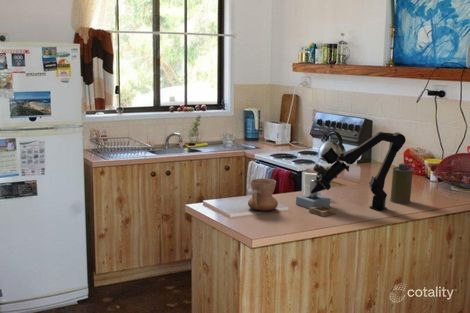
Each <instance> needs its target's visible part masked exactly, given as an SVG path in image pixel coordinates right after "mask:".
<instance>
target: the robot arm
mask: <svg viewBox="0 0 470 313" xmlns="http://www.w3.org/2000/svg"><path fill="white" fill-rule="evenodd" d="M406 141H407V140H406V136H405V135H404V134H402V133H401V132H394V133H392V132H383V131H378V132H377V133H376V134H374V135H373V136H371V137H370V138H368V139H367V140H366V141H364V142H363V143H361V144H360V145H358V146H357V147H354V148H351V149H348V150H346V151H345V152H344V153H337V152H336V151H335V150H334V148H333V147H332V146H330V147H329V148H327V149H326V150H324V151H323V152H322V153H321V155H320V157H321V158H322V159H323V160H324V161H325V162H326V164H328V165H331V166H328V167H324V166H323V165H320V164H318V163H315V165H314V167H313V171H314V172H315V173H316V174H317V175H318V176H317V175H316V180H318V182H317V185H316V186H315V187H314V188H313V190H312V191H311V193H316V192H319V191H321V192H322V191H326V190H327V191H329V190H330V189H331V187H332V186H331V184H332V181H333V180H334V179H337V178H338V176H339V175H340V174H342V173H343V172H344V171H346V172H348V173H349V172H350V165H353V164H354V163H356V162H357V161H358V160H359V158H360V157H361V156H362V155H363V154H365V153H366V152H367V151H369V150H370V149H372V148H373V147H375V146H376V145H378V144H380V143H381V142H388V143H389V147H388V151H387V153H386V155H385V156H384V159H383V161H382V164H381V165H380V168H379V170H378V172H377V174H376V175H375V176H373V175H372V176H371V179H370V181H369V182H368V185H369V186H368V187H369V190H370V191H371V193H372V194H373V196H372V203H371V205H370V206H369V209H373V210H376V211H385V210H388V207H387V206H386V202H387V200H386V199H387V196H388V194H387V193H386V192H385V190H384V187H385V183H386V177H387V175H388V173H389V172H390V169H391V168H392V167H391V166H392V164H393V162H394V160H395V159H396V156H397V154H398V152H399V151H400V150H401V149H402V148H403V147H404V145H405V143H406Z"/></svg>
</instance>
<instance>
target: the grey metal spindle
mask: <svg viewBox="0 0 470 313" xmlns="http://www.w3.org/2000/svg"><path fill="white" fill-rule="evenodd" d="M317 182H318V180H316V179H311V180H310V195H309V199H313V200H315V199H317V197H318V192H316V193H311V191H312V190H313V188H314V187H315V186H316V185H317Z"/></svg>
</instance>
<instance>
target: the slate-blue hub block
mask: <svg viewBox="0 0 470 313" xmlns="http://www.w3.org/2000/svg"><path fill="white" fill-rule="evenodd" d="M309 195H310V194H308V195H304V194H303V195H298V196H296V197H295V205H297V206H300V207H303V208H306V209H309V208H311V207H316V206H321V205H323V206H326V207H329V208H330V207H331V198H329V197H326V196H323V195H321V196H320V195H318V197H317V199H315V200H313V199H309Z"/></svg>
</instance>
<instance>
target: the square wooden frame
mask: <svg viewBox="0 0 470 313" xmlns="http://www.w3.org/2000/svg"><path fill="white" fill-rule="evenodd" d="M308 212H309V213H311V214H314V215H317V216H321V217H325V216H326V217H327V216H331V215H335V214H337V213H336V212H337V209H336V208H332V207H330V206H329V207H326V206H323V205H321V206H316V207H311V208H308Z"/></svg>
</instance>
